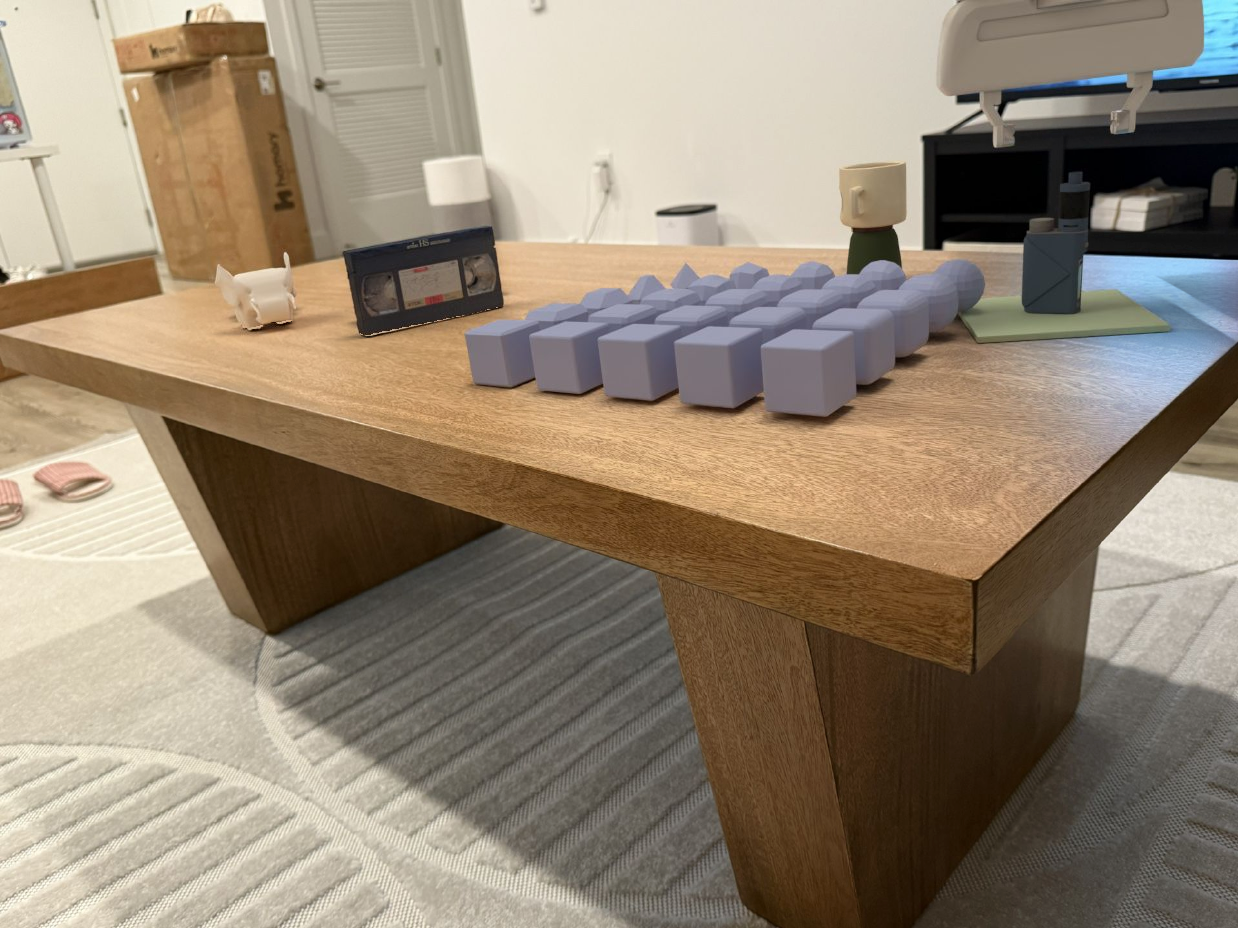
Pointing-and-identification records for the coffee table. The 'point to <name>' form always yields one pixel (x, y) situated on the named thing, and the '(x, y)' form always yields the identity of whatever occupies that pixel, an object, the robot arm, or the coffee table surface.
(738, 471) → the coffee table surface
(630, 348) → the blocks
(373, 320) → the vhs cassette tape
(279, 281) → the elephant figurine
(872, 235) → the character mug
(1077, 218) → the vaping device
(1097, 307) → the mat
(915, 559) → the coffee table surface
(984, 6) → the robot arm
